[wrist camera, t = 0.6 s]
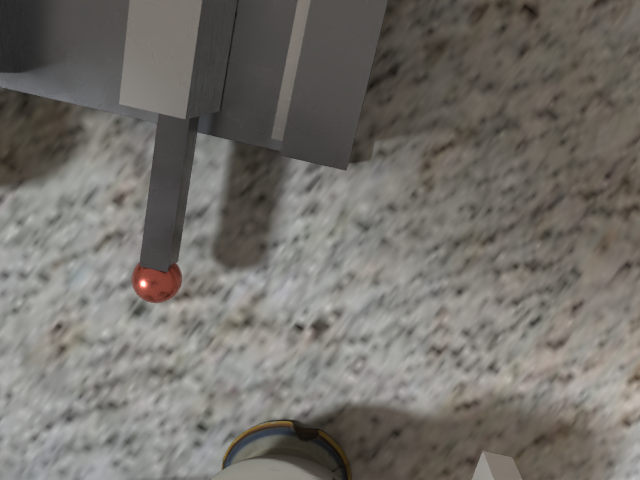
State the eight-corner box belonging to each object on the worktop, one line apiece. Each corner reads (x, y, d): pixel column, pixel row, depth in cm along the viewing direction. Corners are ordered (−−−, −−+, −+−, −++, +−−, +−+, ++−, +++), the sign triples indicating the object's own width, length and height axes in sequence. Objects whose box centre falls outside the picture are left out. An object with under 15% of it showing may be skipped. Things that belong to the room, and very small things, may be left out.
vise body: (9, 86, 31) (-122, 86, 22) (18, -143, 27) (-133, -250, 18) (347, 163, 32) (351, 194, 23) (398, -49, 28) (427, -109, 19)
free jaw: (145, 278, 33) (96, 329, 26) (191, -74, 27) (142, -127, 20) (190, 288, 33) (153, 341, 26) (247, -61, 27) (217, -109, 20)
